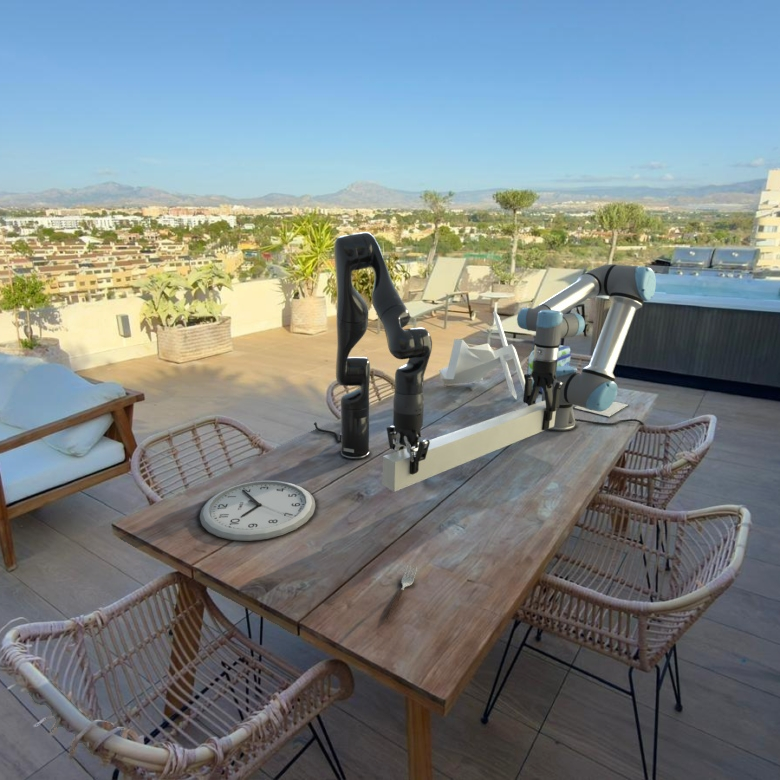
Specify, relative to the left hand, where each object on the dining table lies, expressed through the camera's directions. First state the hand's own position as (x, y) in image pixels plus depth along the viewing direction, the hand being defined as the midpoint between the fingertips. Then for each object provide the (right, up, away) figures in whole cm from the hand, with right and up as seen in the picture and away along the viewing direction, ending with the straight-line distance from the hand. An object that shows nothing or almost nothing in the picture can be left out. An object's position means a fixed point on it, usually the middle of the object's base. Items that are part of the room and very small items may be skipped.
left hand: (406, 469), depth 136 cm
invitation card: (+87, +13, +91) cm, 126 cm away
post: (+22, +2, +20) cm, 30 cm away
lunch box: (+71, +21, +116) cm, 137 cm away
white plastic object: (+37, +19, +108) cm, 116 cm away
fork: (-2, -22, -27) cm, 35 cm away
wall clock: (-39, -11, +5) cm, 41 cm away
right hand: (+45, +8, +39) cm, 60 cm away
